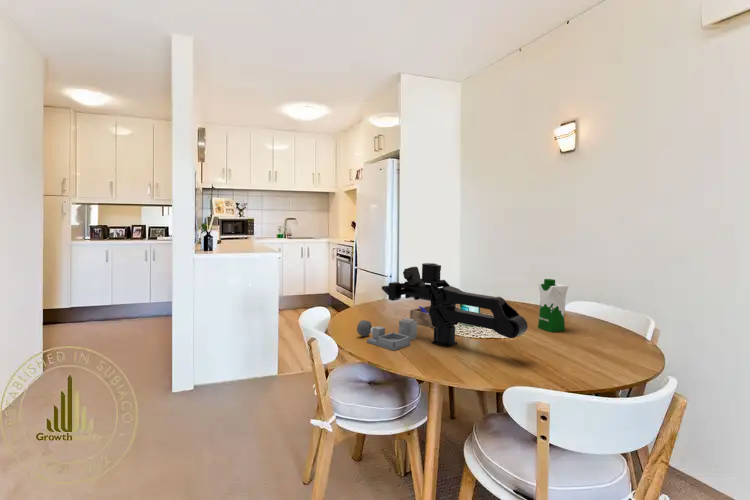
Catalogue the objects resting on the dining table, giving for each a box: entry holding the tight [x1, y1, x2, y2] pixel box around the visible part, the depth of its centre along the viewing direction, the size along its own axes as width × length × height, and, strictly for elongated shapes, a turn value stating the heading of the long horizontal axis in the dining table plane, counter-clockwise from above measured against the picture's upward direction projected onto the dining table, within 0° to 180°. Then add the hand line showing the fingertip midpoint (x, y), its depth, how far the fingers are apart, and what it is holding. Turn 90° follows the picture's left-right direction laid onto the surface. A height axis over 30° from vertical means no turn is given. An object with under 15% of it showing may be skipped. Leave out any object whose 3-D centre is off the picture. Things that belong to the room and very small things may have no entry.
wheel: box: [356, 319, 373, 337], centre depth 145 cm, size 2×6×6 cm, turn 137°
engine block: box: [398, 317, 418, 341], centre depth 144 cm, size 5×4×7 cm
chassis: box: [366, 325, 411, 351], centre depth 137 cm, size 14×8×5 cm, turn 47°
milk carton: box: [537, 278, 569, 333], centre depth 159 cm, size 9×9×20 cm
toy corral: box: [409, 304, 462, 329], centre depth 169 cm, size 13×20×5 cm, turn 137°
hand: (390, 286), depth 154 cm, fingers open, 9 cm apart
